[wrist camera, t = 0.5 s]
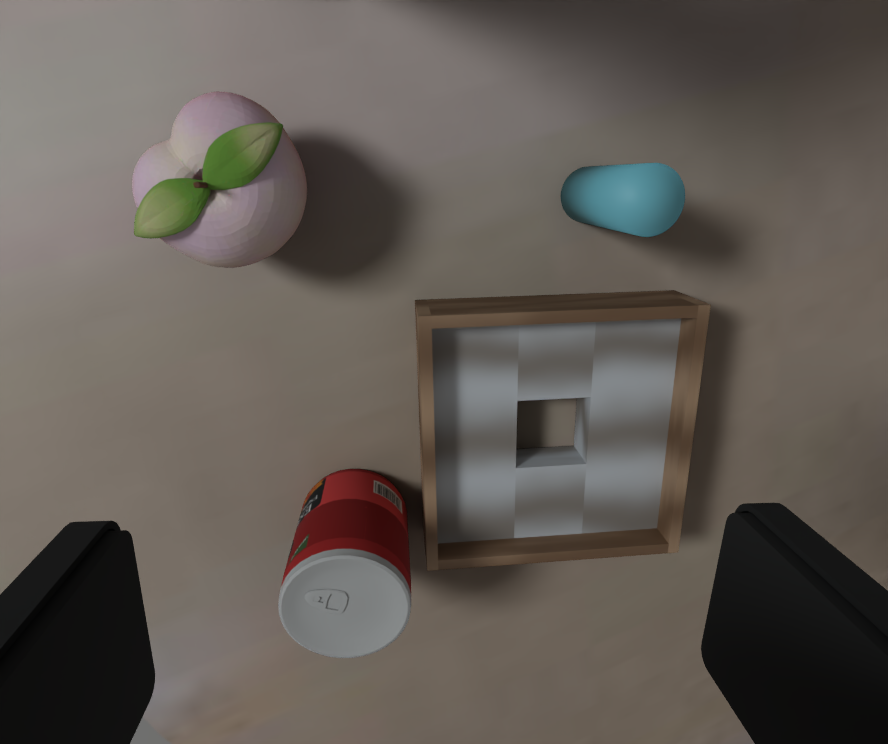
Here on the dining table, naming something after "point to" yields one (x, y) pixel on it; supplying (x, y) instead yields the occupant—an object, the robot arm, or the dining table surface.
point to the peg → (625, 197)
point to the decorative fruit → (221, 183)
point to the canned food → (348, 567)
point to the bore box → (596, 426)
